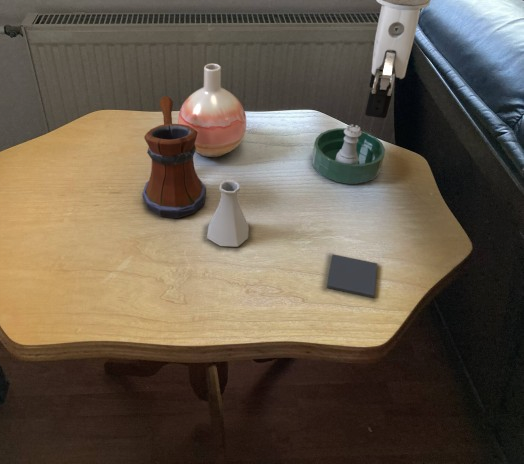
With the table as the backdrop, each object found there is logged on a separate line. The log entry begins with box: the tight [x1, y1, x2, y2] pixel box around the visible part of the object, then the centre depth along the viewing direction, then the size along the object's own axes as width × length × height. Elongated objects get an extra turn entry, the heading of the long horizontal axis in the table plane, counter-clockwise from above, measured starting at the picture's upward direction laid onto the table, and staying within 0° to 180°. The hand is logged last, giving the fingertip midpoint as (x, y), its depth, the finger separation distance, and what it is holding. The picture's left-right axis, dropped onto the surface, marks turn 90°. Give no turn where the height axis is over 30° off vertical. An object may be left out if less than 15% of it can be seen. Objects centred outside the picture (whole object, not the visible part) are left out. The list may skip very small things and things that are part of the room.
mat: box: [326, 254, 378, 299], centre depth 79 cm, size 7×7×1 cm
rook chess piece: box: [335, 124, 362, 164], centre depth 98 cm, size 4×4×8 cm
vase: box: [177, 63, 248, 158], centre depth 100 cm, size 14×14×18 cm
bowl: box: [311, 127, 386, 185], centre depth 100 cm, size 13×13×4 cm
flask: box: [206, 179, 250, 248], centre depth 83 cm, size 7×7×10 cm
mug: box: [141, 95, 207, 219], centre depth 90 cm, size 18×12×15 cm, turn 8°
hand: (377, 101), depth 83 cm, fingers open, 9 cm apart
